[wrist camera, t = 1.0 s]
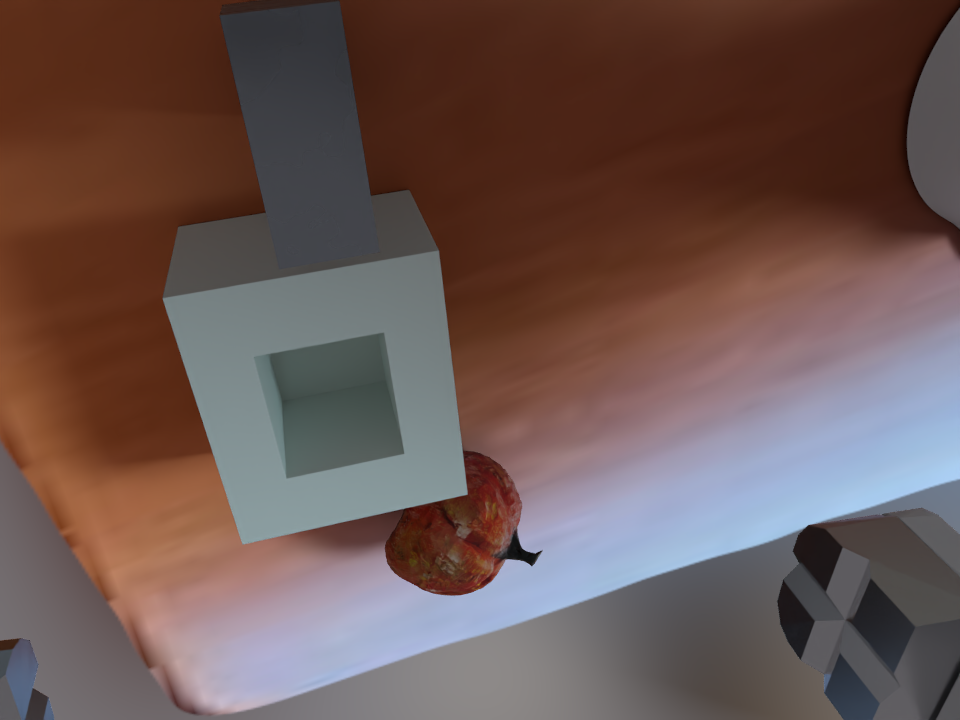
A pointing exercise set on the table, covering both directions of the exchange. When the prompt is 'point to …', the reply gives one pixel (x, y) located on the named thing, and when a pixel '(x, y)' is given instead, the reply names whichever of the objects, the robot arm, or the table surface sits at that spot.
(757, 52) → the table surface
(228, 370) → the well block
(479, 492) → the pomegranate
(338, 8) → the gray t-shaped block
